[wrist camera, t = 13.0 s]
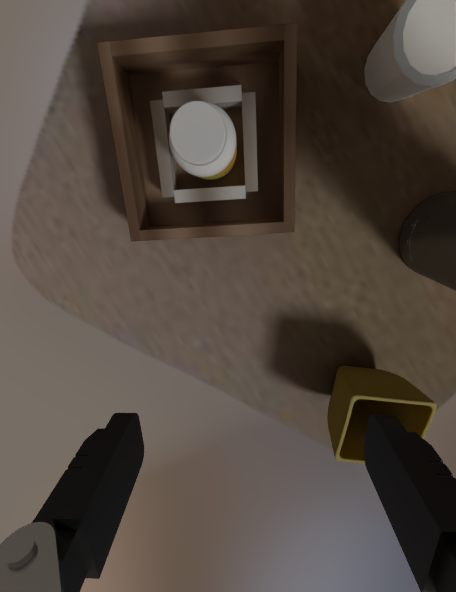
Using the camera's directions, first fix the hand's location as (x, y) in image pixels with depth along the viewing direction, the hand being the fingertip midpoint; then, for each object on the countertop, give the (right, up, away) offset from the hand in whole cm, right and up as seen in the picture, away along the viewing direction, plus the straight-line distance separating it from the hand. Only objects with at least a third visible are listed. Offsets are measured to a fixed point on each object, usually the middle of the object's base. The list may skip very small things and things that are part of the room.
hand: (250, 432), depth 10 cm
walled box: (-3, +20, +20) cm, 28 cm away
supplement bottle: (-2, +19, +19) cm, 28 cm away
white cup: (+15, +26, +17) cm, 35 cm away
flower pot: (+16, -7, +29) cm, 34 cm away
